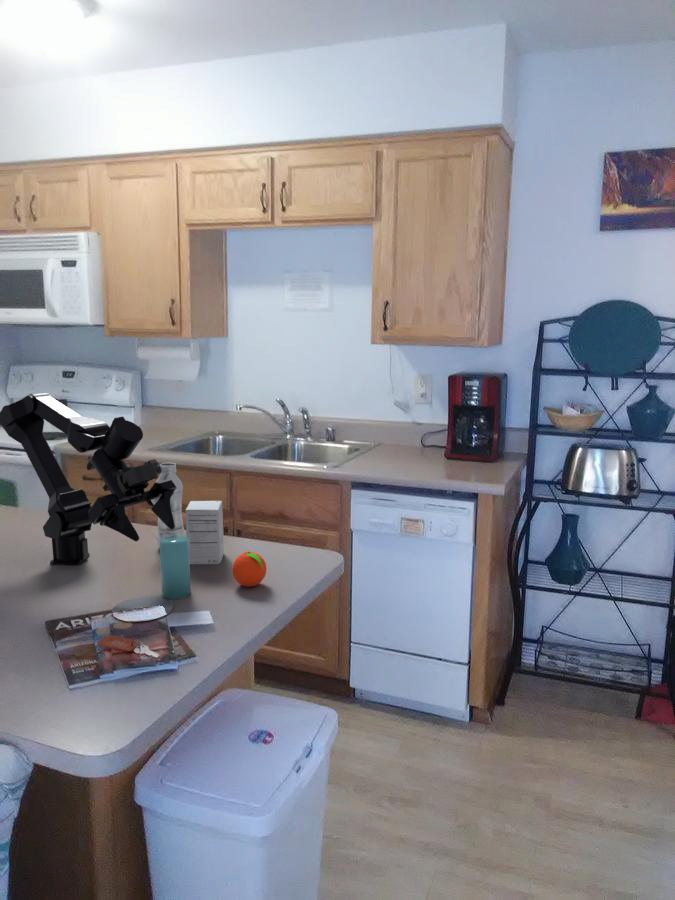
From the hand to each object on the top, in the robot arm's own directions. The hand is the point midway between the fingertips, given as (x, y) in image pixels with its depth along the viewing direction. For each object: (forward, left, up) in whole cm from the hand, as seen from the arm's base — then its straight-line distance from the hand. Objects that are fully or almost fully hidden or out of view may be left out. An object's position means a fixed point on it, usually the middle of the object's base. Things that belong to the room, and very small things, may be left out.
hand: (156, 534), depth 141 cm
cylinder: (+4, -3, -11) cm, 12 cm away
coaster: (0, -11, -11) cm, 16 cm away
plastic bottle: (-5, +24, -11) cm, 27 cm away
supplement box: (+5, +17, -12) cm, 22 cm away
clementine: (+18, +2, -12) cm, 22 cm away
